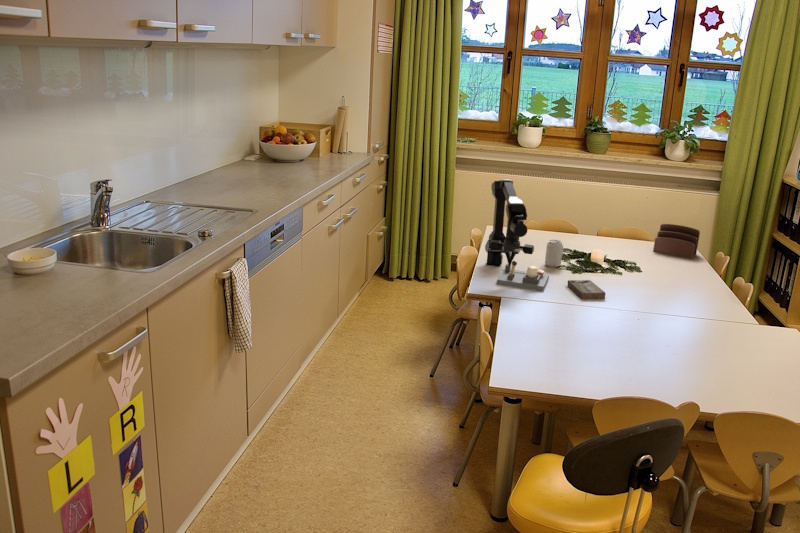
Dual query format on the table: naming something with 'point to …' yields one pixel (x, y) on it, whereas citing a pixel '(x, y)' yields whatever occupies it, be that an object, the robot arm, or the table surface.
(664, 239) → the letter holder
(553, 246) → the can
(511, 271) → the lever
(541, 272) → the rocker
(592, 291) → the grey flat block
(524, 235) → the robot arm
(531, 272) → the button
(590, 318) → the table surface
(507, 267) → the slider
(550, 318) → the table surface
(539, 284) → the panel
